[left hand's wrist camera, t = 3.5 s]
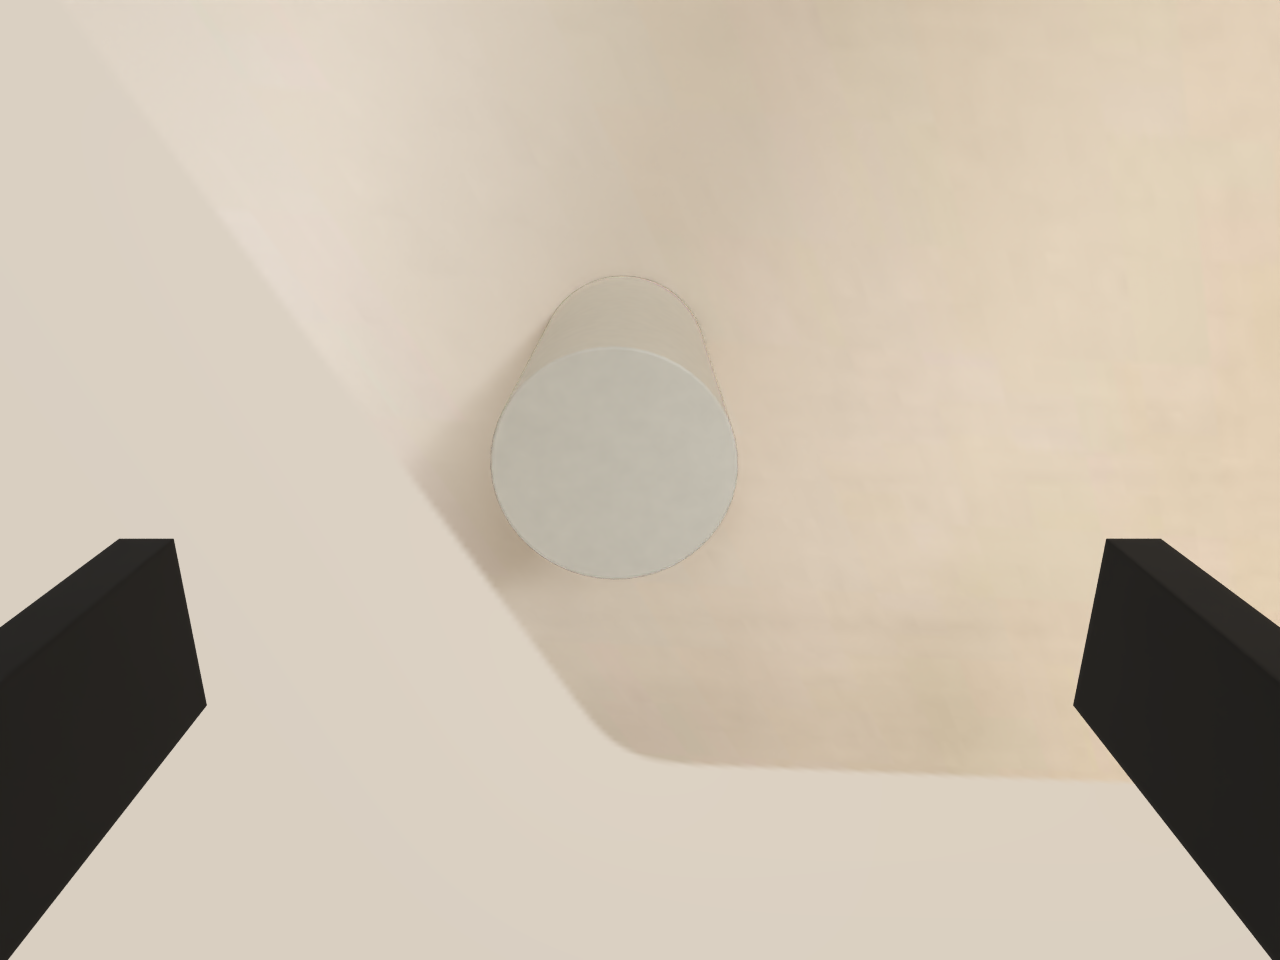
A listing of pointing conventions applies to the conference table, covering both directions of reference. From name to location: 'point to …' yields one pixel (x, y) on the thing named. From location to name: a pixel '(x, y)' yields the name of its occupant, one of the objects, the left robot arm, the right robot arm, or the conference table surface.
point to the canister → (616, 435)
